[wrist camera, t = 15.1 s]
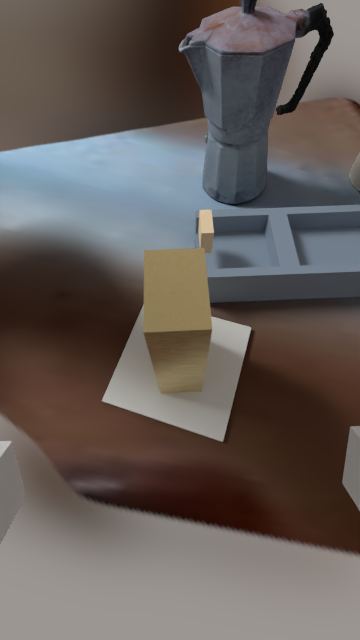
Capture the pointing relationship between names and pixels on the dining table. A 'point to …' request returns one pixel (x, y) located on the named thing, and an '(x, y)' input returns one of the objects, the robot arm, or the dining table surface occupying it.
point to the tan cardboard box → (177, 317)
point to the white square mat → (187, 407)
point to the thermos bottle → (355, 173)
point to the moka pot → (247, 88)
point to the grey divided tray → (281, 252)
